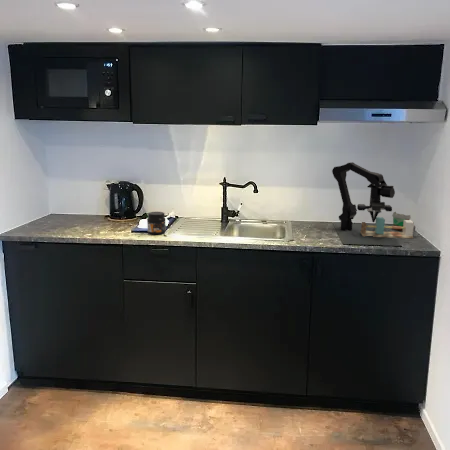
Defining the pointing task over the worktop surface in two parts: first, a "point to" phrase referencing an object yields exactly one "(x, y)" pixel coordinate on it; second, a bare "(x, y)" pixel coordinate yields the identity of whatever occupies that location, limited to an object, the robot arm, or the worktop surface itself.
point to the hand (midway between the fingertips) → (373, 222)
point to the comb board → (386, 234)
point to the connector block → (408, 227)
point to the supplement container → (156, 223)
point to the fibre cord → (387, 227)
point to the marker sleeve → (379, 225)
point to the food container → (399, 220)
